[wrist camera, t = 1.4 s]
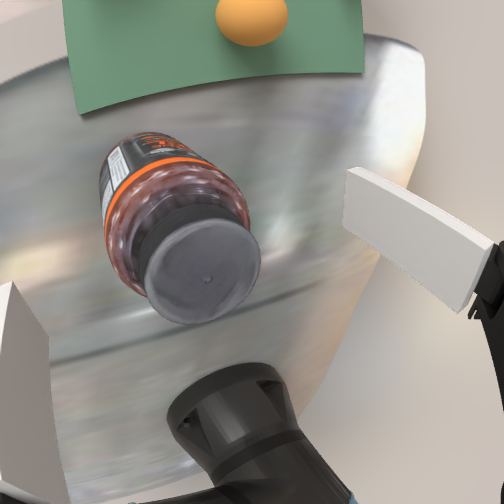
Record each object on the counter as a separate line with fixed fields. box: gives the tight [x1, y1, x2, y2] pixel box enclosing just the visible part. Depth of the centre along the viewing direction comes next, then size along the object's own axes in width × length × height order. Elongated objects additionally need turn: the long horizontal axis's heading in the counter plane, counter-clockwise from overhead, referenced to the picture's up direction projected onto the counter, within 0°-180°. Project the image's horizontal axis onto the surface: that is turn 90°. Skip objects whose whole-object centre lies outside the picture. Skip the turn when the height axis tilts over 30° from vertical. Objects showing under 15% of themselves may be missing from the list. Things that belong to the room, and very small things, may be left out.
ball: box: [215, 0, 288, 46], centre depth 14 cm, size 4×4×4 cm
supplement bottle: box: [99, 132, 261, 325], centre depth 14 cm, size 6×6×11 cm
